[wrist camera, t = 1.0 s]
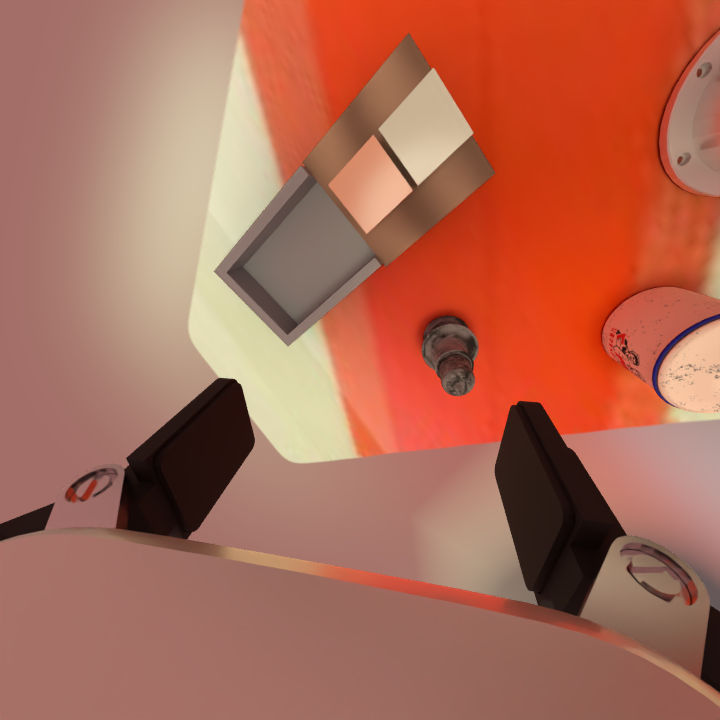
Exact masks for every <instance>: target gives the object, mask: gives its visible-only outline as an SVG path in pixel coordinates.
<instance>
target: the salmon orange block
mask: <svg viewBox="0 0 720 720" xmlns="http://www.w3.org/2000/svg"><path fill="white" fill-rule="evenodd" d="M328 186H329V187H330V188H331V190H332V191H333V192H334V193H335V195H336V196H337V197H338V198H339V200H340V201H341V202H342V203H343V205H344V206H345V207H346V209H347V210H348V211H349V212H350V214H351V215H352V216H353V217H354V219H355V220H356V221H357V222H358V224H359V225H360V226H361V228H362V229H363V230H364V231H365V233H366V234H368V233H370V232H371V231H372V230H373V229H374V228H375V227H376V226H377V225H379V224H380V223H381V222H382V221H383V220H384V219H385V218H386V217H387V216H388V215H389V214H390V213H391V212H392V211H393V210H394V209H395V208H397V207H398V206H399V205H400V204H401V203H402V202H403V201H404V200H405V199H406V198H407V197H408V196H409V195H410V194H411V193H412V192H413V190H412V188H411V187H410V186H409V184H408V183H407V181H406V180H405V179H404V177H403V176H402V174H401V173H400V171H399V170H398V169H397V167H396V166H395V164H394V163H393V162H392V160H391V159H390V157H389V156H388V155H387V153H386V152H385V150H384V149H383V148H382V146H381V145H380V143H379V142H378V140H377V139H376V138H375V136H374V135H372V137H371V138H370V139H369V140H368V141H367V142H366V143H365V144H364V146H363V147H362V148H361V149H360V150H359V151H358V152H357V153H356V154H355V156H354V157H353V158H352V159H351V160H350V161H349V162H348V163H347V164H346V166H345V167H344V168H343V169H342V170H341V171H340V172H339V173H338V175H337V176H336V177H335V178H334V179H333V180H332V181H331V182H330V183H329V185H328Z"/></svg>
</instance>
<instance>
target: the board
mask: <svg viewBox="0 0 720 720" xmlns="http://www.w3.org/2000/svg"><path fill="white" fill-rule="evenodd" d="M431 70H432V69H431V68H430V66H429V65H428V63H427V61H426V60H425V58H424V56H423V55H422V53H421V52H420V50H419V48H418V47H417V45H416V44H415V42H414V40H413V39H412V37H411V35H410V34H409V33H408V34H407V35H406V37H405V38H404V39H403V40H402V42H401V43H400V44H399V45H398V46H397V48H396V49H395V50H394V51H393V53H392V54H391V55H390V56H389V57H388V59H387V60H386V61H385V62H384V64H383V65H382V66H381V67H380V68H379V70H378V71H377V72H376V73H375V75H374V76H373V77H372V78H371V79H370V81H369V82H368V83H367V84H366V86H365V87H364V88H363V89H362V90H361V92H360V93H359V94H358V95H357V96H356V98H355V99H354V100H353V101H352V103H351V104H350V105H349V106H348V107H347V109H346V110H345V111H344V112H343V114H342V115H341V116H340V117H339V118H338V120H337V121H336V122H335V123H334V125H333V126H332V127H331V128H330V129H329V131H328V132H327V133H326V134H325V136H324V137H323V138H322V139H321V140H320V142H319V143H318V144H317V145H316V147H315V148H314V149H313V150H312V151H311V153H310V154H309V155H308V156H307V158H306V159H305V160H304V161H303V162H302V163H303V164H304V165H305V167H306V168H307V169H308V170H309V172H310V173H311V174H312V175H313V177H314V178H315V179H316V180H317V182H318V183H319V184H320V186H321V187H322V188H323V189H324V191H325V192H326V193H327V194H328V196H329V197H330V198H331V199H332V201H333V202H334V203H335V204H336V206H337V207H338V208H339V209H340V211H341V212H342V213H343V214H344V216H345V217H346V218H347V219H348V221H349V222H350V223H351V224H352V226H353V227H354V228H355V229H356V231H357V232H358V233H359V234H360V236H361V237H362V238H363V239H364V241H365V242H366V243H367V244H368V246H369V247H370V248H371V249H372V251H373V252H374V253H375V254H376V256H377V257H378V258H379V259H380V261H381V262H382V263H383V264H384V266H385V267H387V266H388V265H389V264H390V263H391V262H392V261H394V260H395V259H396V258H397V257H398V256H399V255H401V254H402V253H403V252H404V251H405V250H406V249H408V248H409V247H410V246H411V245H412V244H413V243H415V242H416V241H417V240H418V239H419V238H420V237H422V236H423V235H424V234H425V233H426V232H427V231H429V230H430V229H431V228H432V227H433V226H434V225H436V224H437V223H438V222H439V221H440V220H441V219H443V218H444V217H445V216H446V215H447V214H448V213H450V212H451V211H452V210H453V209H454V208H455V207H457V206H458V205H459V204H460V203H461V202H462V201H464V200H465V199H466V198H467V197H468V196H469V195H471V194H472V193H473V192H474V191H475V190H477V189H478V188H479V187H480V186H481V185H482V184H484V183H485V182H486V181H487V180H488V179H489V178H491V177H492V176H493V175H494V174H495V172H494V170H493V168H492V167H491V165H490V163H489V162H488V160H487V159H486V157H485V155H484V154H483V152H482V150H481V149H480V147H479V146H478V144H477V142H476V141H475V139H474V138H473V136H471V137H470V138H469V139H468V140H467V142H465V143H464V144H463V145H462V146H461V147H460V148H459V149H458V150H457V151H456V152H455V153H454V154H453V155H452V156H451V157H450V158H448V159H447V160H446V161H445V162H444V163H443V164H442V165H441V166H440V167H439V168H438V169H437V170H436V171H435V172H434V173H433V174H432V175H430V176H429V177H428V178H427V179H426V180H425V181H424V182H423V183H422V184H421V185H420V186H419V187H418V188H417V187H416V185H415V184H414V182H413V181H412V179H411V178H410V177H409V175H408V174H407V172H406V171H405V170H404V168H403V167H402V165H401V164H400V162H399V161H398V160H397V158H396V157H395V155H394V154H393V153H392V151H391V150H390V148H389V147H388V145H387V144H386V143H385V141H384V140H383V138H382V137H381V134H380V132H379V130H378V129H379V128H380V127H381V125H382V124H383V123H384V122H385V121H386V120H387V119H388V118H389V117H390V115H391V114H392V113H393V112H394V111H395V110H396V109H397V108H398V106H399V105H400V104H401V103H402V102H403V101H404V100H405V99H406V98H407V96H408V95H409V94H410V93H411V92H412V91H413V90H414V89H415V88H416V86H417V85H418V84H419V83H420V82H421V81H422V80H423V79H424V78H425V76H426V75H427V74H428V73H429V72H430V71H431ZM372 135H374V136H375V138H376V139H377V140H378V142H379V143H380V145H381V146H382V148H383V149H384V150H385V152H386V153H387V155H388V156H389V157H390V159H391V160H392V162H393V163H394V164H395V166H396V167H397V169H398V170H399V171H400V173H401V174H402V176H403V177H404V179H405V180H406V181H407V183H408V184H409V186H410V187H411V188H412V190H413V192H412V193H411V194H410V195H409V196H408V197H407V198H406V199H405V200H404V201H403V202H402V203H401V204H400V205H399V206H398V207H397V208H395V209H394V210H393V211H392V212H391V213H390V214H389V215H388V216H387V217H386V218H385V219H384V220H383V221H382V222H381V223H380V224H379V225H377V226H376V227H375V228H374V229H373V230H372V231H371V232H370V233H368V234H366V233H365V231H364V230H363V229H362V228H361V226H360V225H359V224H358V222H357V221H356V220H355V219H354V217H353V216H352V215H351V214H350V212H349V211H348V210H347V209H346V207H345V206H344V205H343V203H342V202H341V201H340V200H339V198H338V197H337V196H336V195H335V193H334V192H333V191H332V190H331V188H330V187H329V186H328V185H329V183H330V182H331V181H332V180H333V179H334V178H335V177H336V176H337V175H338V173H339V172H340V171H341V170H342V169H343V168H344V167H345V166H346V164H347V163H348V162H349V161H350V160H351V159H352V158H353V157H354V156H355V154H356V153H357V152H358V151H359V150H360V149H361V148H362V147H363V146H364V144H365V143H366V142H367V141H368V140H369V139H370V138H371V137H372Z"/></svg>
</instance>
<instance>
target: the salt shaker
mask: <svg viewBox="0 0 720 720" xmlns="http://www.w3.org/2000/svg"><path fill="white" fill-rule="evenodd" d="M423 339H424V342H423V344H422V355H423V358H424V360H425V362H426V364H427V365H428V366H429V367H430V368H432V369H434V370H435V371H436V374H437V376H438V377H439V378H440V379H441V383H442V387H443V389H444V390H445V391H446V392H447V393H448V394H450V395H453V396H462V395H465V394H467V393H468V392H470V391H471V390H472V389H473V387H474V384H475V377H474V374H473V367H474V362H473V361H474V360H475V358H476V356H477V353H478V341H477V339H476V336H475V335H474V334H473V332H472V331H471V330H470V329H468V327H467V325H466V324H465V322H464V321H462V320H461V319H459V318H457V317H454V316H442V317H439V318H437V319H434V320H433V321H432V322H431V323H429V325H428V326H427V327H426V329H425V332H424V337H423Z"/></svg>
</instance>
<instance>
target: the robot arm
mask: <svg viewBox="0 0 720 720" xmlns="http://www.w3.org/2000/svg"><path fill="white" fill-rule="evenodd" d="M659 147H660V156H661V160H662V163H663V166H664V169H665V171H666V173H667V174H668V175H669V177H670V178H671V179H672V181H673V182H674V183H675V184H677V185H678V186H679V187H681V188H682V189H683V190H685V191H688V192H691V193H693V194H696V195H701V196H709V197H720V30H719V31H718V32H717V33H716V34H715V35H714V36H713V37H712V38H711V39H710V40H709V41H708V42H707V43H706V44H705V45H704V46H703V47H702V48H701V50H700V51H699V52H698V54H697V55H696V56H695V57H694V59H693V60H692V61H691V62H690V64H689V65H688V66H687V68H686V70H685V71H684V73H683V74H682V76H681V78H680V79H679V81H678V83H677V84H676V86H675V88H674V90H673V92H672V95H671V97H670V99H669V101H668V104H667V106H666V109H665V112H664V116H663V120H662V123H661V129H660V139H659ZM677 160H678V162H677ZM254 443H255V438H254V434H253V430H252V426H251V422H250V418H249V414H248V410H247V406H246V401H245V397H244V393H243V389H242V386H241V384H239V383H238V382H237V381H236V380H235V379H227V378H218V379H217V380H215V381H214V382H213V383H212V384H211V385H210V386H209V387H207V389H205V390H204V391H203V392H202V393H201V394H199V395H198V396H197V397H196V398H195V399H194V400H193V401H191V402H190V403H189V404H188V405H187V406H186V407H184V408H183V409H182V410H181V411H180V412H179V413H178V414H177V415H175V416H174V417H173V418H172V419H171V420H170V421H168V422H167V423H166V424H165V425H164V426H163V427H161V428H160V429H159V430H158V431H157V432H156V433H155V434H153V435H152V436H151V437H150V438H149V439H148V440H146V441H145V442H144V443H143V444H142V445H141V446H140V447H138V448H137V449H136V450H135V451H134V452H133V453H132V454H130V456H128V457H127V458H126V459H127V461H128V463H129V466H128V467H127V468H126V469H124V468H123V467H122V466H121V465H118V464H105V465H101V466H97V467H95V468H92V469H90V470H87V471H85V472H84V473H82V474H80V475H78V476H77V477H75V478H74V479H73V480H71V481H70V482H69V483H68V484H67V485H66V486H65V487H64V488H63V489H62V490H61V491H60V493H59V495H58V496H57V499H56V502H55V503H53V504H50V505H48V506H45V507H43V508H40V509H37V510H35V511H33V512H30V513H27V514H25V515H22V516H20V517H17V518H14V519H12V520H9V521H7V522H4V523H2V524H0V720H720V612H719V611H718V610H716V609H715V608H714V607H712V606H710V602H709V601H710V600H709V594H708V592H707V590H706V588H705V586H704V584H703V582H702V581H701V579H700V578H699V577H698V576H697V575H696V573H695V572H694V571H693V570H692V569H691V568H690V567H689V566H688V565H687V564H686V563H685V562H684V561H682V560H681V559H680V558H679V557H678V556H676V555H675V554H673V553H672V552H670V551H669V550H667V549H666V548H664V547H663V546H660V545H658V544H656V543H654V542H652V541H650V540H647V539H644V538H641V537H637V536H627V535H626V533H625V531H624V530H623V528H622V527H621V525H620V523H619V522H618V520H617V519H616V517H615V515H614V514H613V512H612V511H611V509H610V507H609V506H608V504H607V503H606V501H605V499H604V498H603V496H602V495H601V493H600V491H599V490H598V488H597V487H596V485H595V484H594V482H593V480H592V479H591V477H590V476H589V474H588V472H587V471H586V469H585V468H584V466H583V464H582V463H581V461H580V460H579V458H578V456H577V455H576V453H575V452H574V451H573V450H572V449H570V448H568V447H567V446H566V444H565V442H564V441H563V439H562V437H561V436H560V434H559V433H558V431H557V429H556V428H555V426H554V424H553V423H552V421H551V419H550V418H549V416H548V414H547V413H546V411H545V410H544V408H543V406H542V405H541V404H540V403H538V402H526V401H519V402H518V403H517V405H512V406H511V408H510V411H509V415H508V418H507V422H506V426H505V430H504V434H503V437H502V441H501V445H500V449H499V453H498V457H497V460H496V464H495V477H496V481H497V484H498V488H499V492H500V495H501V499H502V502H503V506H504V509H505V513H506V516H507V520H508V524H509V527H510V531H511V535H512V538H513V542H514V545H515V549H516V552H517V556H518V559H519V563H520V567H521V570H522V574H523V577H524V581H525V584H526V587H527V588H528V590H529V591H534V593H535V597H536V600H537V603H538V605H534V604H530V603H525V602H521V601H515V600H510V599H505V598H500V597H496V596H491V595H486V594H481V593H476V592H471V591H467V590H462V589H457V588H451V587H446V586H441V585H435V584H430V583H425V582H419V581H413V580H409V579H403V578H398V577H392V576H386V575H382V574H376V573H371V572H365V571H360V570H355V569H349V568H344V567H338V566H332V565H327V564H322V563H315V562H310V561H305V560H299V559H294V558H288V557H282V556H277V555H271V554H266V553H260V552H255V551H248V550H243V549H238V548H232V547H226V546H220V545H215V544H209V543H203V542H197V541H191V540H187V539H188V537H189V536H190V534H191V533H192V532H194V531H196V530H197V529H198V528H199V527H200V525H201V524H202V522H203V521H204V519H205V518H206V516H207V515H208V514H209V512H210V510H211V509H212V508H213V506H214V505H215V503H216V502H217V500H218V499H219V497H220V496H221V494H222V493H223V491H224V490H225V488H226V487H227V485H228V484H229V483H230V481H231V479H232V478H233V477H234V475H235V474H236V472H237V471H238V469H239V468H240V466H241V465H242V463H243V462H244V461H245V459H246V457H247V456H248V455H249V453H250V452H251V450H252V449H253V447H254Z"/></svg>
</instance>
